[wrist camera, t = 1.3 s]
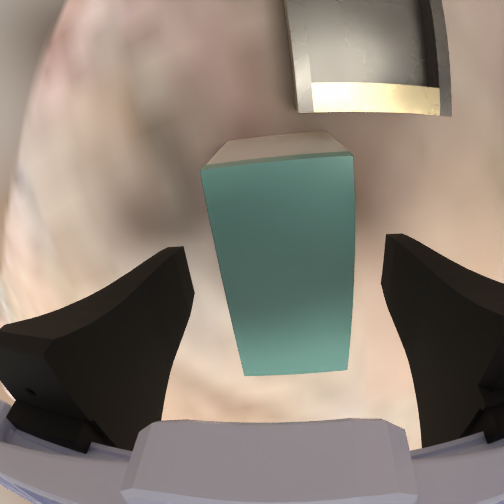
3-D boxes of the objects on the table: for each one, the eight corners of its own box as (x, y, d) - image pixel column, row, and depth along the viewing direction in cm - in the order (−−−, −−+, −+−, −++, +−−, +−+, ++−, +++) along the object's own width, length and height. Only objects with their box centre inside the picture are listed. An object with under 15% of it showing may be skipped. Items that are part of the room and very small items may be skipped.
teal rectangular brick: (326, 130, 12) (353, 155, 8) (333, 294, 16) (347, 369, 11) (228, 140, 13) (199, 170, 8) (254, 299, 16) (244, 375, 12)
